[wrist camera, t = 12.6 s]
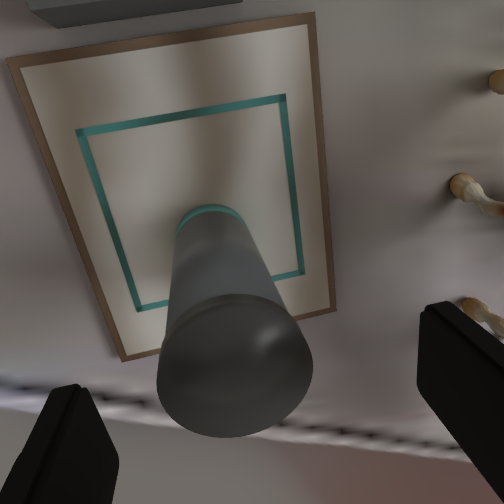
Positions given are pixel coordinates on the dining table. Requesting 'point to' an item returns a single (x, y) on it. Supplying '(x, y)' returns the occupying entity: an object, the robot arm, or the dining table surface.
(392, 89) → the dining table surface
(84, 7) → the button base
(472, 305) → the horse figurine
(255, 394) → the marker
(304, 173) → the board
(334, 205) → the dining table surface
